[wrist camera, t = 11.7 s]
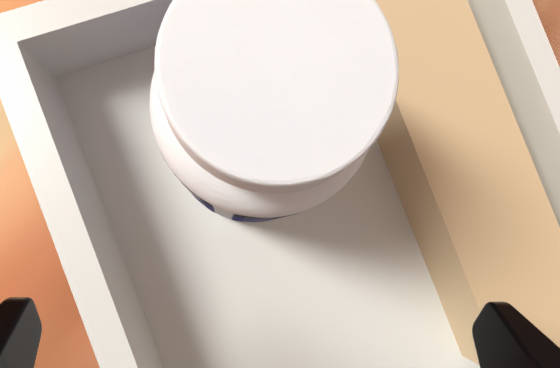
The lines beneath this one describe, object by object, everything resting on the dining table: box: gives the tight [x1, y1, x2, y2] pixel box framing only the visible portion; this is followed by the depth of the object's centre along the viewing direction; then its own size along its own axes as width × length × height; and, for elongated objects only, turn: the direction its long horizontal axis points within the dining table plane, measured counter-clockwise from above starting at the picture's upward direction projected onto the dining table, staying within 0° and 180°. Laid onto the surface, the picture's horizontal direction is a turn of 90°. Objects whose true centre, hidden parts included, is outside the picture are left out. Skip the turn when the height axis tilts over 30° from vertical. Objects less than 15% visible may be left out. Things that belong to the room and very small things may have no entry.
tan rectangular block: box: [375, 0, 560, 365], centre depth 18 cm, size 4×14×3 cm, turn 21°
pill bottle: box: [149, 0, 399, 223], centre depth 14 cm, size 6×6×10 cm
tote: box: [0, 0, 560, 368], centre depth 17 cm, size 18×20×4 cm
